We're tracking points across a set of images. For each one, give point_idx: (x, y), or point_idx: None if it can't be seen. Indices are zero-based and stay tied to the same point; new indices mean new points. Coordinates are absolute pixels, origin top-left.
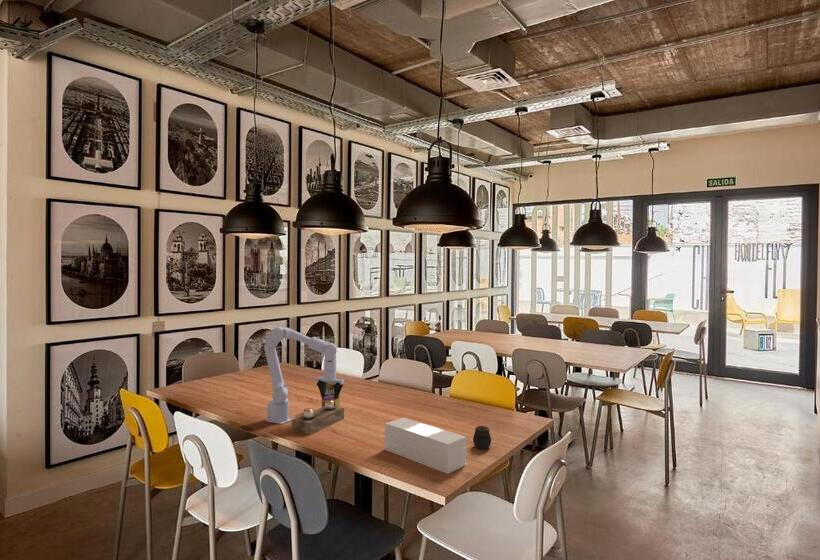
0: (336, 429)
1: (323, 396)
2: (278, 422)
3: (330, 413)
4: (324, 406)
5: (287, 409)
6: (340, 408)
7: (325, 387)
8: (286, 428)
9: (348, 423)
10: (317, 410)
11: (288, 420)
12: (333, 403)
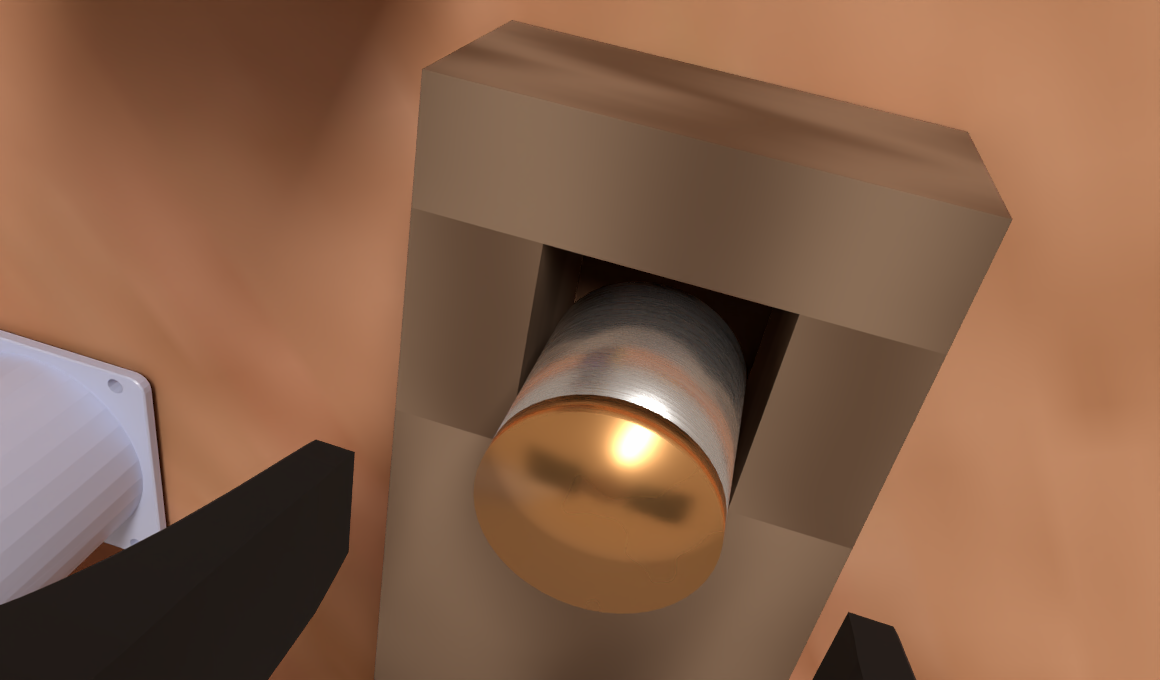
0: (955, 671)
1: (343, 525)
2: (112, 540)
3: (777, 632)
4: (428, 198)
5: (17, 572)
6: (909, 287)
7: (138, 647)
8: (310, 652)
9: (1129, 415)
10: (443, 490)
11: (153, 461)
12: (730, 483)
